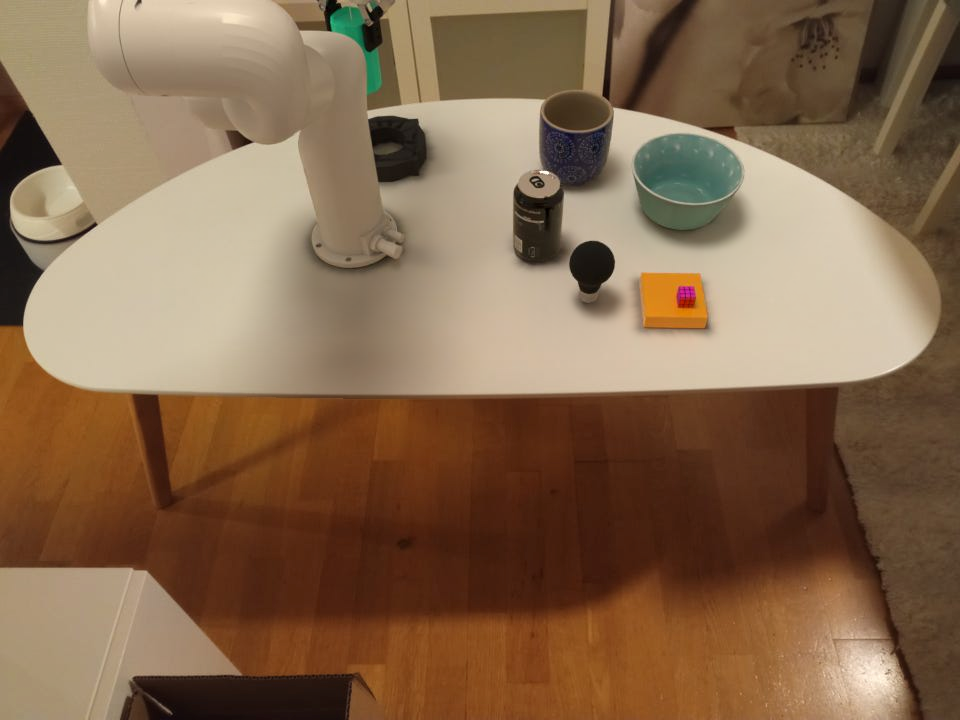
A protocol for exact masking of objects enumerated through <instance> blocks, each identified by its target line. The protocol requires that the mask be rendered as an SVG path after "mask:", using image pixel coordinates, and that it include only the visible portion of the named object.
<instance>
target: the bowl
mask: <svg viewBox="0 0 960 720" xmlns="http://www.w3.org/2000/svg"><path fill="white" fill-rule="evenodd" d="M631 171H632V176H633V180H634V184H635V188H636V192H637V195H638V198H639V202H640V206H641V208H642V211H643V212H644V214H646V216H647V217H648V218H649V219H650V220H652V221H653V222H654V223H656V224H658V225H660V226H661V227H665V228H668V229H672V230H678V231H680V230H681V231H686V230H687V231H689V230H695V229H698V228H702V227H703V226H706V225H708V224H710V222H712V221H713V220H714V219H715V218H716V217H717V215H718V214H719V213H720V212H721V211H722V210H723V209H724V208H725V206H727V204H728V203H729V201H731V199H733V197H734V196H735V194H736V193H737V192H738V191H739V190H740V188H741V186H742V185H743V182H744V180H745V167H744V164H743V162H742V160H741V158H740V157H739V155H738V154H737V153H736V151H734V150H733V148H731V146H728V145H727V144H725V143H724V142H722V141H720V140H718V139H716V138H713V137H710V136H707V135H704V134H699V133H694V132H671V133H665V134H661V135H657V136H655V137H652V138H650V139H648V140H646V141H645V142H644V143H642V144H641V145H640V146H639V147H638V148H637V149H636V150H635V152H634V153H633V155H632V159H631Z"/></svg>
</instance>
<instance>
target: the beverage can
mask: <svg viewBox="0 0 960 720" xmlns="http://www.w3.org/2000/svg"><path fill="white" fill-rule="evenodd" d="M512 196H513V197H512V245H513V249H514V251H515V253H516V254H517V255H518V256H520V257H521V258H523V259H525V260H528V261H532V262H541V261H546V260H549V259H551V258H553V257H554V256H555V255H557V254H558V252H559V251H560V248H561V244H562V243H561V241H562V231H563V230H562V229H563V217H564V216H563V215H564V201H565V191H564V188H563V184H562V183H560V181H559V178H558V177H557V176H556V175H555V174H553V173H552V172H549V171H546V170H544V169H533V170H529V171H526V172H525V173H523V174H522V175H521V176H520V177H519V178H518V182H517V183H516V185H514V188H513V193H512Z"/></svg>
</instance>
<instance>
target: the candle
mask: <svg viewBox="0 0 960 720" xmlns="http://www.w3.org/2000/svg"><path fill="white" fill-rule="evenodd" d="M370 13H371V11H370ZM330 23H331V28H332V32H335V33H340V34H343V35H346V36H348V37H350V38H352V39H353V40H354V41H356V42H357V43H358V44H359V46H360V47H361V49H362V51H363V53H364V56H365V61H366V69H367V96H368V95H370V94H373V93H375V92H377V91H378V90H379V89H380V88H381V87H382V86H383V78H382V72H381V71H382V70H381V64H380V59H379V58H380V57H379V50H378V47H377V48H376V49H374V50H373V51H372V52H367V51H366V49H365V44H364V37H363V31H362V25H363V24H364V23H365V22H364V20H363V17H362V15H361V13H360V10H359V8H358V6H351V5H345V6H343V7H342V8H341V9H338V10H337V11H335V12H334V13H333V14H332V15H331V20H330Z"/></svg>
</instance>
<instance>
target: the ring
mask: <svg viewBox="0 0 960 720" xmlns="http://www.w3.org/2000/svg"><path fill="white" fill-rule="evenodd" d="M368 123H369V130H370V136H371V142H372V147H374V146H376V145H379V144H384V143H392V144H398V145H400V146H401V147H400V148H398V149H397V150H396V151H392V152H389V153H383V154H381V153H380V154H378V153H374V152H373V154H374V160H375V166H376V172H377V177H378V183H388V182H396V181H400V180H403V179H406V178H408V177H417V176H420V169H421V168H422V167H423V165H424V163H425V162H426V160H427V155H428V153H427V151H428V149H427V140H426V133H425V131H424V130H423V128H422V127H421V126H420V121H419V118H417V117H416V118H407V117H402V116H399V115H398V116H397V115H377V116H374V117H371V118H368Z"/></svg>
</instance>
